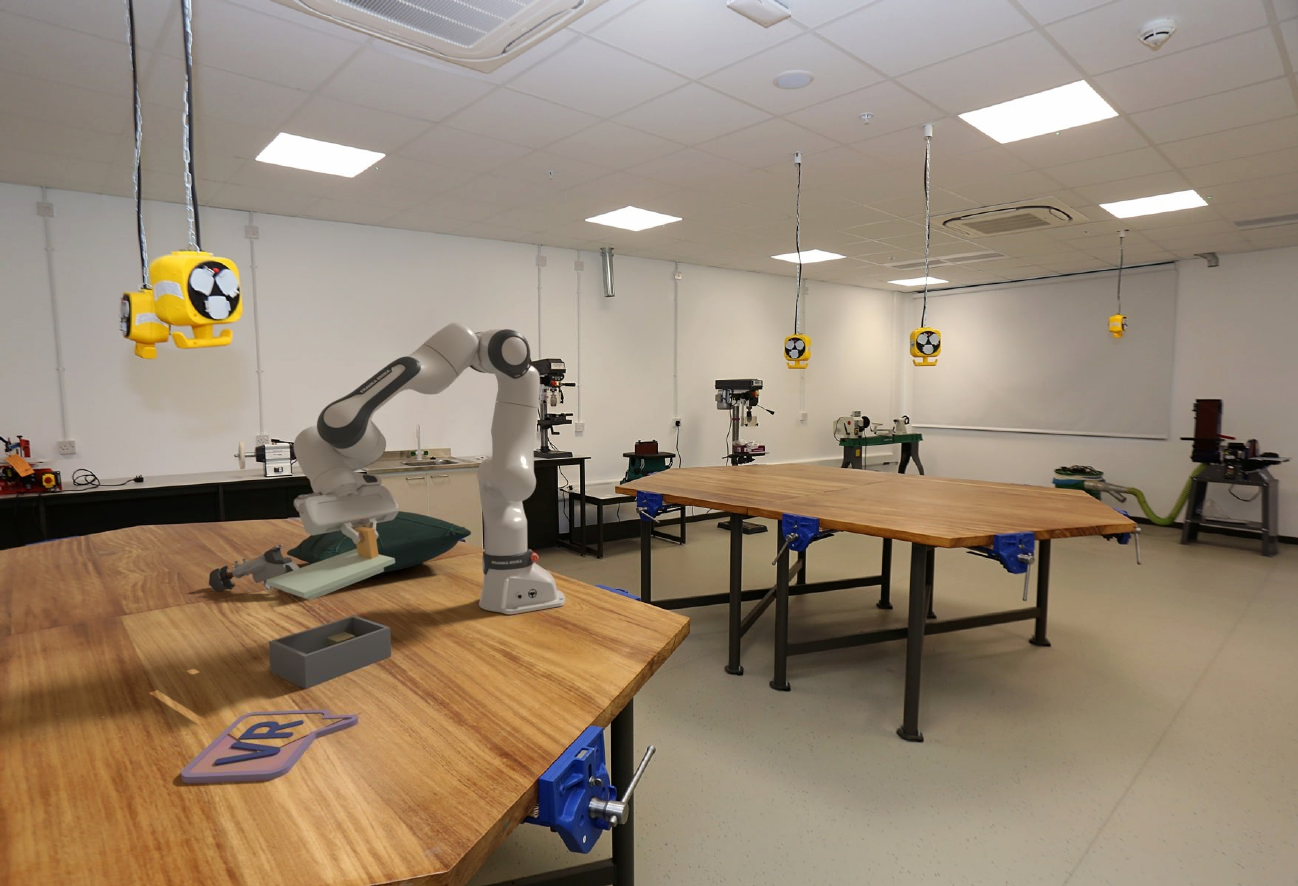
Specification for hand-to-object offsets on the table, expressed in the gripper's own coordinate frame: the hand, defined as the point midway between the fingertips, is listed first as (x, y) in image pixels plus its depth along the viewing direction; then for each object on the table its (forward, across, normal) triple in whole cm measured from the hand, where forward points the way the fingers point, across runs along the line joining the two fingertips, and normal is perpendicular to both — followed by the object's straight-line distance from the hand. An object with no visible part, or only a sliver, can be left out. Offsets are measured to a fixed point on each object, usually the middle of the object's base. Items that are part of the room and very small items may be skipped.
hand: (367, 540), depth 136 cm
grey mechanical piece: (-28, +8, +63) cm, 70 cm away
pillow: (-24, +41, +60) cm, 76 cm away
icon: (+32, -29, +4) cm, 43 cm away
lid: (+4, -7, +5) cm, 10 cm away
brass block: (+15, -5, +19) cm, 25 cm away
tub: (+17, -8, +18) cm, 26 cm away
